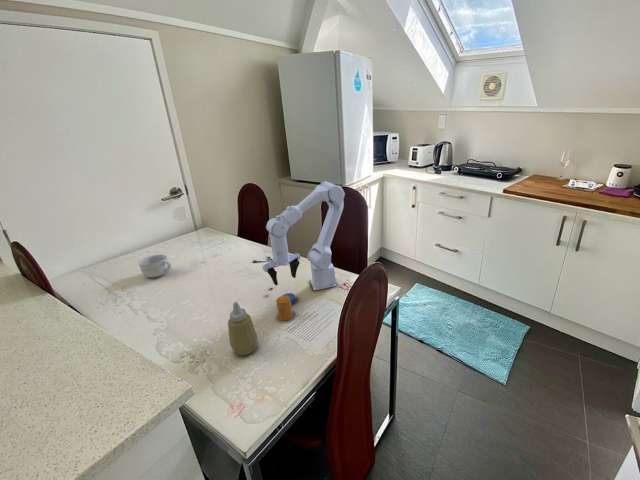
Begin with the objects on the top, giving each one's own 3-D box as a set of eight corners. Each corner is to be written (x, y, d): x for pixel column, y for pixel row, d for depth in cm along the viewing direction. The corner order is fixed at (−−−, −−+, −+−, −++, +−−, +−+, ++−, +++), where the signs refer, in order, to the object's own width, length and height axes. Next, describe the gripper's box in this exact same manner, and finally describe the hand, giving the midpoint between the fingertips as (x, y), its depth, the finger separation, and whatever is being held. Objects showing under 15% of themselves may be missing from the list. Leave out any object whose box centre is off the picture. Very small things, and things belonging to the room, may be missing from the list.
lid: (278, 306, 120) (278, 301, 120) (282, 297, 126) (282, 293, 125) (293, 305, 120) (293, 301, 120) (297, 297, 126) (296, 293, 125)
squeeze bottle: (237, 341, 103) (226, 295, 96) (262, 339, 104) (252, 294, 97) (228, 359, 96) (216, 312, 89) (255, 357, 96) (245, 310, 89)
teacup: (138, 277, 141) (132, 262, 138) (161, 266, 150) (156, 251, 147) (159, 283, 136) (153, 267, 133) (181, 271, 145) (176, 256, 142)
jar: (290, 310, 118) (288, 293, 115) (294, 317, 114) (291, 300, 111) (277, 314, 116) (274, 297, 113) (280, 322, 112) (277, 305, 109)
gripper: (266, 259, 109) (272, 292, 115) (302, 247, 118) (306, 277, 124) (258, 253, 114) (263, 284, 120) (293, 241, 123) (297, 271, 128)
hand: (284, 280), depth 122 cm, fingers open, 7 cm apart
